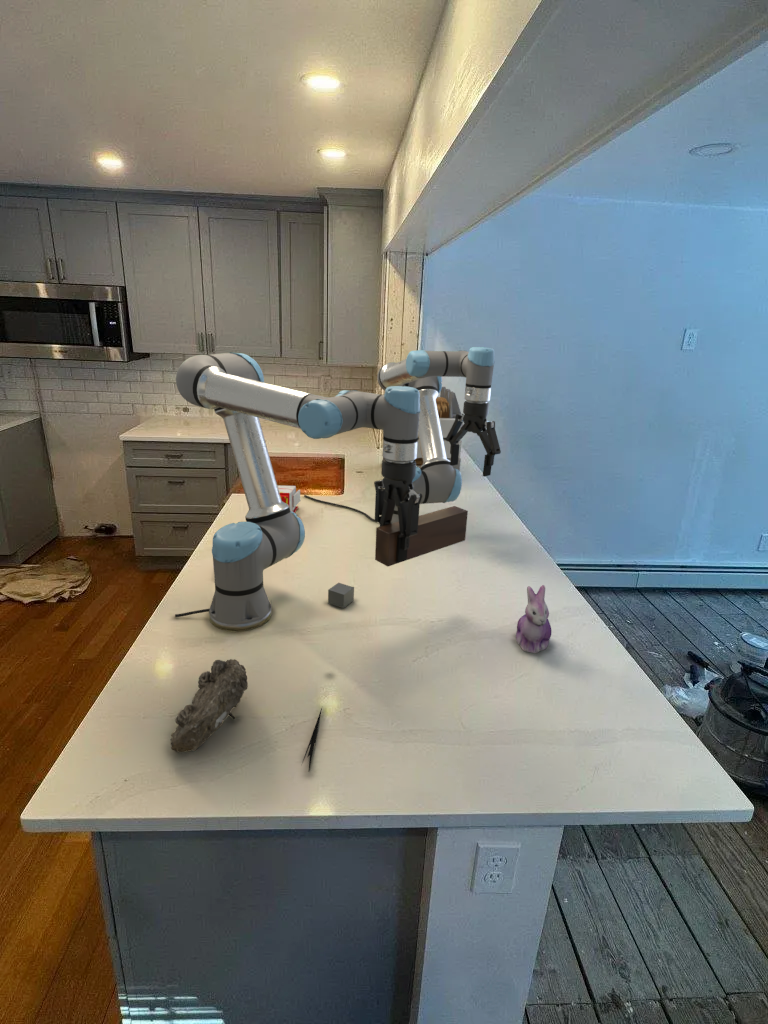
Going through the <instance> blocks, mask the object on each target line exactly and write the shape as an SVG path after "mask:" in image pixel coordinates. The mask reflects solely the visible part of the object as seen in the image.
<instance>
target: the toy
mask: <svg viewBox="0 0 768 1024" xmlns="http://www.w3.org/2000/svg"><path fill="white" fill-rule="evenodd" d="M277 486H278V490H279V493H280V497H281V500H282V501H283V502H284V503H286V504H288V505H289V508H290V511H292V512H294V513H295V514H296V511H298V508H299V506H297V505H299V503H300V502H301V489H298V490H297V487H296V485H278V484H277Z"/></svg>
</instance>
